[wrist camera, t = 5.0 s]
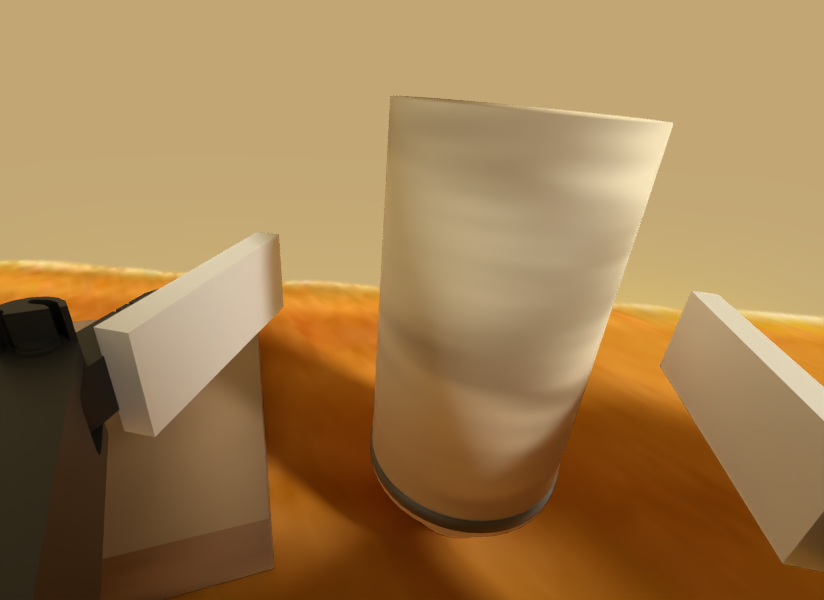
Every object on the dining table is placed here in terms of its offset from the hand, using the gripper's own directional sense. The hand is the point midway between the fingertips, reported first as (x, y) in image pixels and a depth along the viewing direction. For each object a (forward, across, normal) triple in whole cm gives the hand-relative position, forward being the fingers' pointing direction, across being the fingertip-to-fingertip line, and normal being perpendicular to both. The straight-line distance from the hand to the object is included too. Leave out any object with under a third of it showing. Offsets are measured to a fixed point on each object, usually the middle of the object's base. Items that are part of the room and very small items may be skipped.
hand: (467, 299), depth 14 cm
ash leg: (0, +1, -8) cm, 9 cm away
